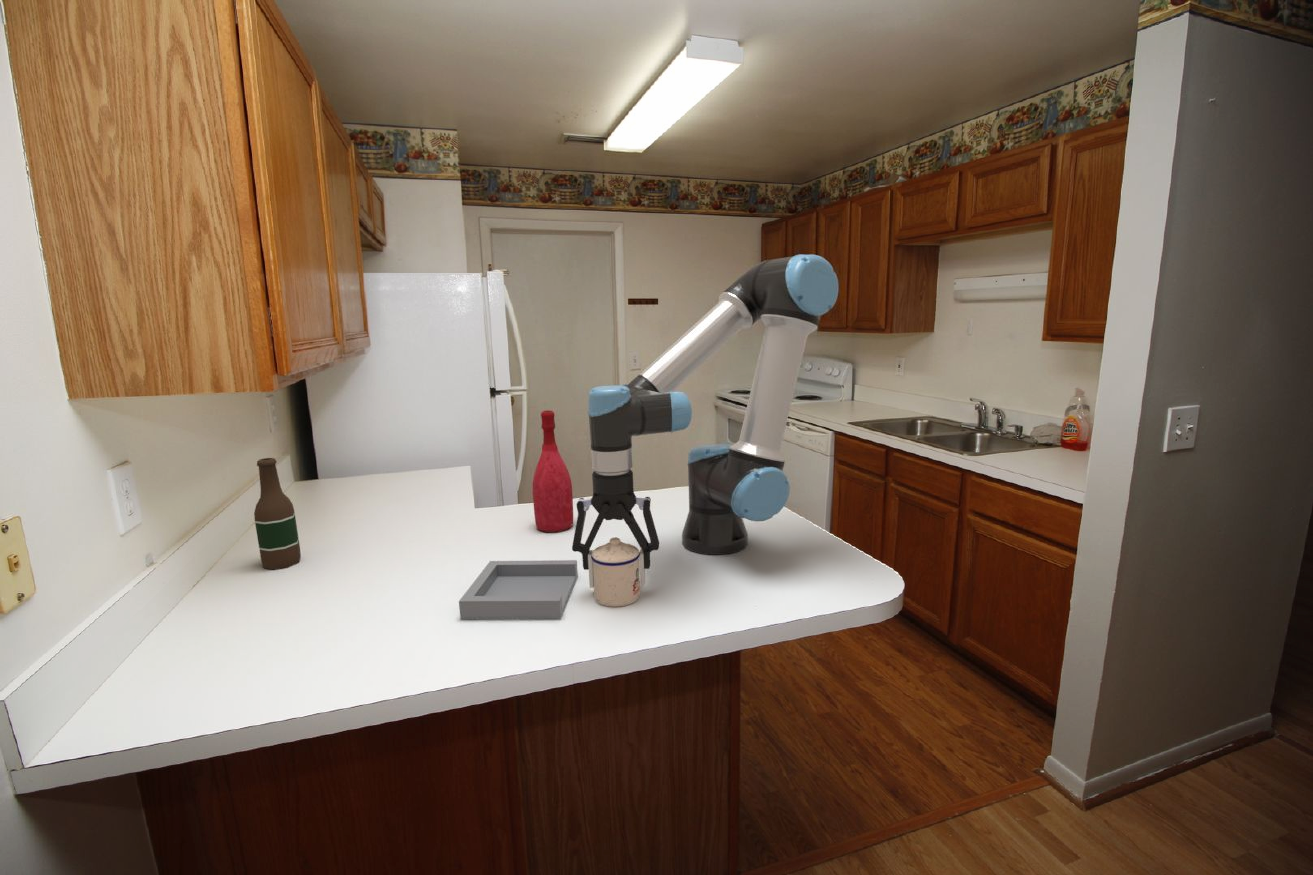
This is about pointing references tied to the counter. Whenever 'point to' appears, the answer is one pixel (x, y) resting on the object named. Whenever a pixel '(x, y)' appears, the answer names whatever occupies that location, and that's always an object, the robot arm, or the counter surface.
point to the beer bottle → (275, 521)
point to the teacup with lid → (616, 573)
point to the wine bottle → (552, 484)
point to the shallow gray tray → (520, 590)
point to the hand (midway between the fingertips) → (617, 584)
